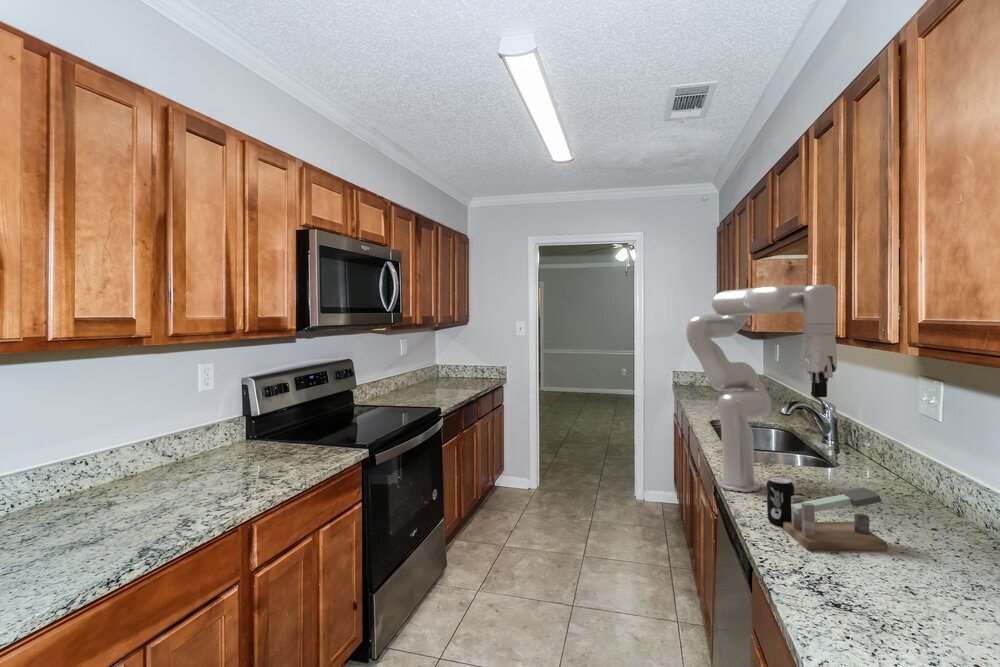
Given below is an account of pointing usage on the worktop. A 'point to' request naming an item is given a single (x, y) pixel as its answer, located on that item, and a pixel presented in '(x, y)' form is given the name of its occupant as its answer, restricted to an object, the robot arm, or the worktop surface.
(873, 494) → the press lever
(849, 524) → the press base
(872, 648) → the worktop surface
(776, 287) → the robot arm
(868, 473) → the worktop surface
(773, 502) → the beverage can
